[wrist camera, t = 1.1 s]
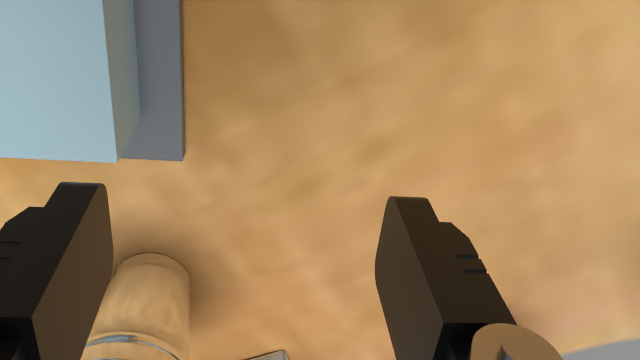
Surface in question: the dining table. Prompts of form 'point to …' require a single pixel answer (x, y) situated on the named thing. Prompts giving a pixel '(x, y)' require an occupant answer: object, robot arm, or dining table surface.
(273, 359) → the supplement box
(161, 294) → the cup with straw
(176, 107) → the display board
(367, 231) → the dining table surface
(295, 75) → the dining table surface
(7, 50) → the carton
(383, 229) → the robot arm
